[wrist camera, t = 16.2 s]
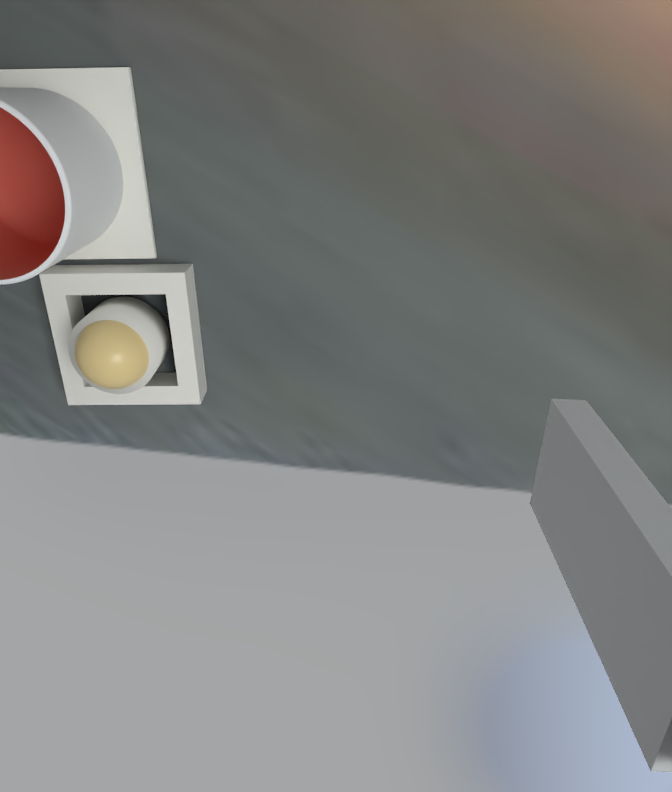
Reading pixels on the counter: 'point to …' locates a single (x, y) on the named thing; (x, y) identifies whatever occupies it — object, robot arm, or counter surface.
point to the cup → (52, 180)
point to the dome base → (129, 279)
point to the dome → (119, 345)
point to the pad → (117, 113)
